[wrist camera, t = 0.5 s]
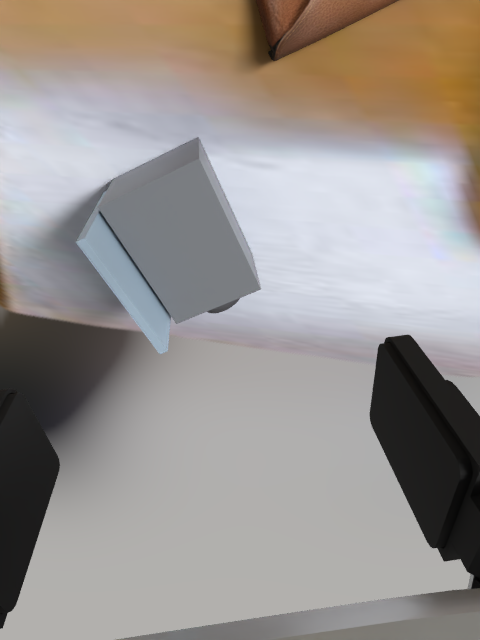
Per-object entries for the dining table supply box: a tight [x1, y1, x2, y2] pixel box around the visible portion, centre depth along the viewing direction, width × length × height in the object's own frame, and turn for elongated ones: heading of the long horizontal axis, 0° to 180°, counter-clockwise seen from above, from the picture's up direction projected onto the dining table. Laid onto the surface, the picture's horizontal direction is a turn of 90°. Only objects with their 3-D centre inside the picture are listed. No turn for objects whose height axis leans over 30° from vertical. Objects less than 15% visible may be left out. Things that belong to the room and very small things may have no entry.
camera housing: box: [98, 137, 261, 324], centre depth 38 cm, size 15×9×7 cm, turn 23°
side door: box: [76, 191, 171, 354], centre depth 37 cm, size 12×1×11 cm, turn 23°
